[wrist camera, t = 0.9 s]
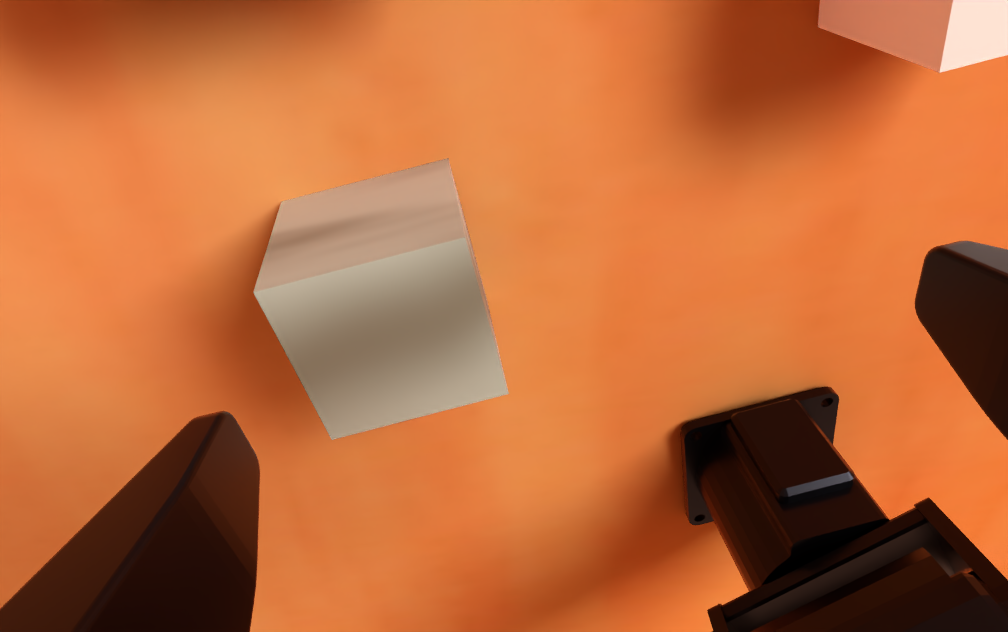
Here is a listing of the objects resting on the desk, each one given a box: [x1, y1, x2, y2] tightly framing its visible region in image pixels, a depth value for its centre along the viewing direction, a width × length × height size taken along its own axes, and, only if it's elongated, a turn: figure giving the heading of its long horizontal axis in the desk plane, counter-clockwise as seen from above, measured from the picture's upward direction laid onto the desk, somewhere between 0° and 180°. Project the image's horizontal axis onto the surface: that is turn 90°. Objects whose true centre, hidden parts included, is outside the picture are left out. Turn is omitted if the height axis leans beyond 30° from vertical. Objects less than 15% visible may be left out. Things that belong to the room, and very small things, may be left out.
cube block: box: [253, 158, 509, 440], centre depth 18 cm, size 5×5×5 cm
